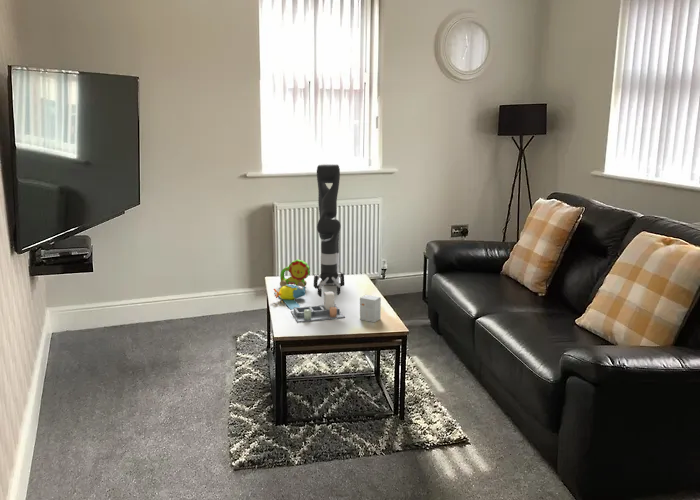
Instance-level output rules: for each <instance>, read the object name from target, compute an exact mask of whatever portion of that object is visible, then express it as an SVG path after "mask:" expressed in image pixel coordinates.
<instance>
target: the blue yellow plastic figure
mask: <svg viewBox="0 0 700 500" xmlns="http://www.w3.org/2000/svg"><path fill="white" fill-rule="evenodd" d="M273 291H274V297H275V299H277V298H280V300H282V301H283V303H284V304H285V305H286V306H287V308H288V309H289V310H291V311H293V310H294V308H296V307H301V306H300V305H299V303H298V302H297V301H296V299H299V298H301V297H304V296H306V288H305V287H302V286H297V285H294V284H287V285H286V286H283V287H280V288H279V291H278V290H277V289H276V288H273Z"/></svg>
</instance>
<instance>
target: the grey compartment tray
mask: <svg viewBox="0 0 700 500" xmlns="http://www.w3.org/2000/svg"><path fill="white" fill-rule="evenodd" d="M290 313H291V315H292V316H293V318H294V319H295V320H296V322H297V324H298V323H305V322H307V323H308V321H309V322H318V321H325V320H337V319H345V318H346V317H345V314H343V312H341V311H340V308H339V307H338V305H337V304H336V303H334V307H330V309H329V310H324V304H320V305H309V306H307V305H306V306H300V307H296V308H294V309H293V310H291V311H290Z"/></svg>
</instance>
